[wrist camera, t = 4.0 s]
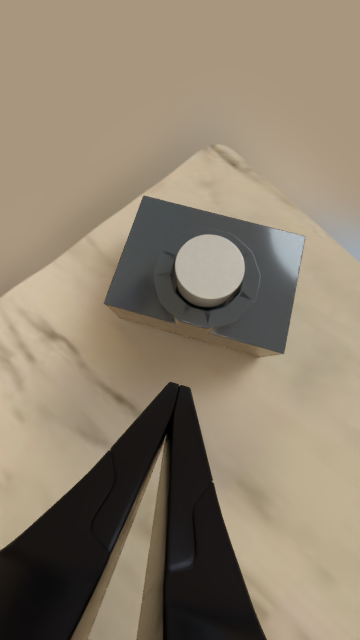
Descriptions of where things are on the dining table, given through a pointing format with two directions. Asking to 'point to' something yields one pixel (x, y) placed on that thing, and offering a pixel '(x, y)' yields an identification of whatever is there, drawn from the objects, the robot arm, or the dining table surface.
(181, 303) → the grey push button box
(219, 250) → the white push button
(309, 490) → the dining table surface
